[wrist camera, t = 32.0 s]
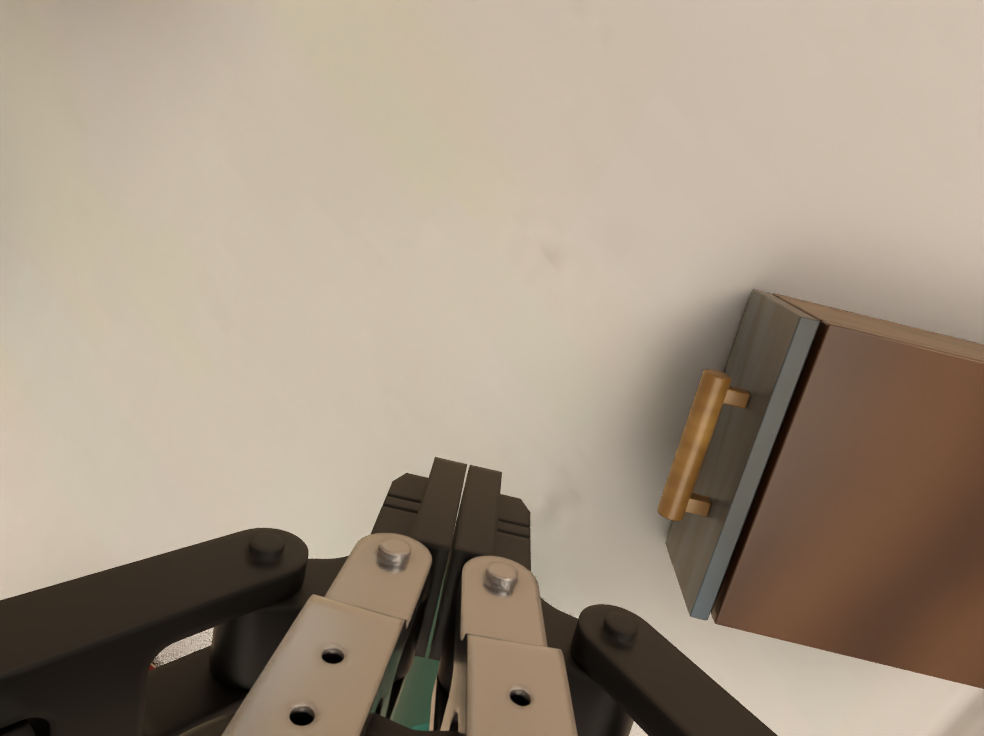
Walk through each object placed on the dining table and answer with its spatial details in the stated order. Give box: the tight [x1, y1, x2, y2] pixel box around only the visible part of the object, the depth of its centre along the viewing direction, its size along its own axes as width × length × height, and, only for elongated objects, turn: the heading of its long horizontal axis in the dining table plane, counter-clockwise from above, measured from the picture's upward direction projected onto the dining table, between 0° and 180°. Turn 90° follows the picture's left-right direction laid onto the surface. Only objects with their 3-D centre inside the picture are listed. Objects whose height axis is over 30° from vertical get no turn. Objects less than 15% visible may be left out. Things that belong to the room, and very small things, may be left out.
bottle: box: [392, 565, 447, 731], centre depth 31 cm, size 5×5×16 cm
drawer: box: [657, 289, 820, 620], centre depth 32 cm, size 18×14×6 cm
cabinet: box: [711, 294, 984, 689], centre depth 32 cm, size 16×14×7 cm
